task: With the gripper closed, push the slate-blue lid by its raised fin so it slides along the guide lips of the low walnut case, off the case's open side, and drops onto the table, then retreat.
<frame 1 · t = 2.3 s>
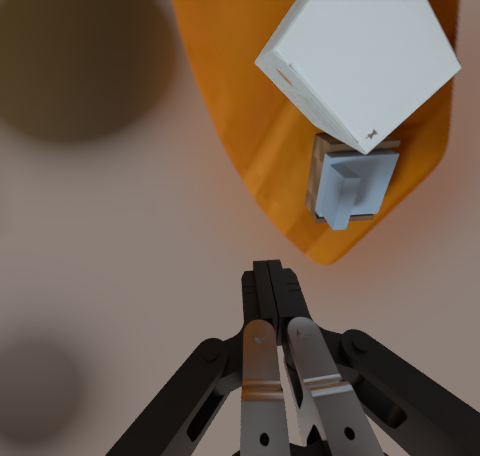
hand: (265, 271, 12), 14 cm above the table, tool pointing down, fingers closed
case: (336, 170, 24), on the table
small box: (307, 67, 19), on the table
lid: (349, 182, 22), point 3 cm above the table, touching case
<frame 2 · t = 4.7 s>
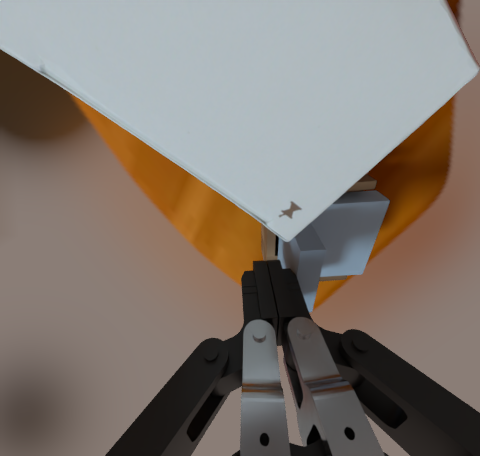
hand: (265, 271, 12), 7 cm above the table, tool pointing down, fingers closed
case: (297, 209, 18), on the table
small box: (235, 72, 13), on the table
lid: (321, 232, 15), point 3 cm above the table, touching gripper
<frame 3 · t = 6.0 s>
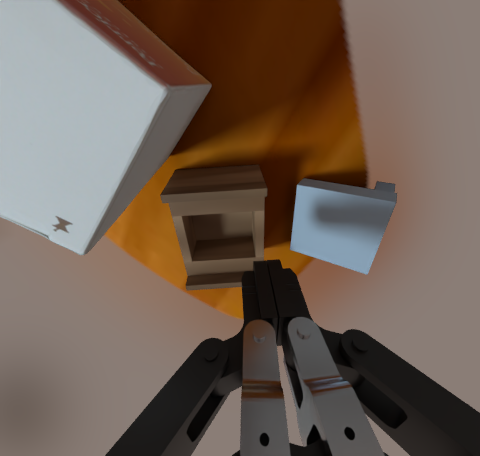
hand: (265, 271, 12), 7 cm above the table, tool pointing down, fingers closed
case: (222, 214, 18), on the table
small box: (130, 78, 13), on the table
lid: (332, 230, 16), point 3 cm above the table, tilted 146°
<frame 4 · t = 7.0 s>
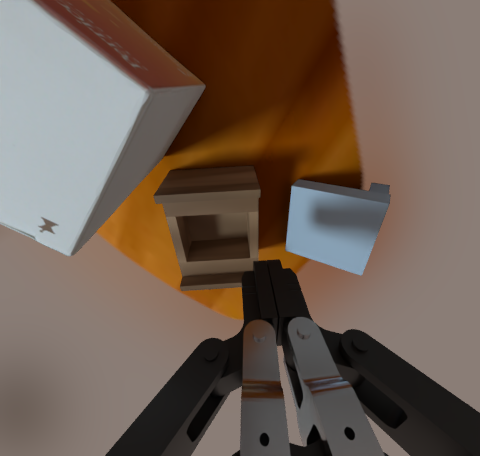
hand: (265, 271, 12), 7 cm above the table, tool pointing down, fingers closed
case: (217, 215, 18), on the table
small box: (124, 78, 13), on the table
lid: (327, 231, 16), point 3 cm above the table, tilted 146°
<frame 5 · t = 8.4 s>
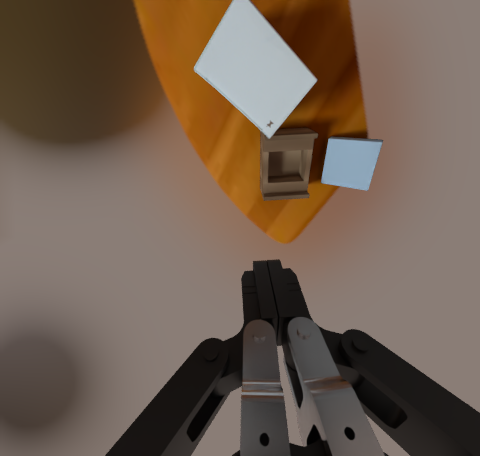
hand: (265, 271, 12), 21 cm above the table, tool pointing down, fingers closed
case: (281, 159, 30), on the table
small box: (247, 78, 25), on the table
lid: (348, 164, 28), point 3 cm above the table, tilted 146°
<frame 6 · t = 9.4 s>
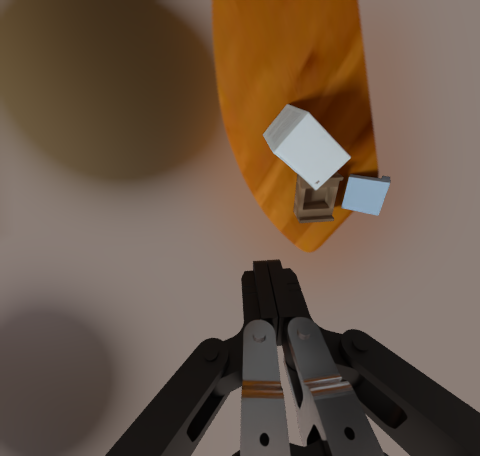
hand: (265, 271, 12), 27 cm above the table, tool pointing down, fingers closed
case: (312, 190, 39), on the table
small box: (291, 136, 34), on the table
lid: (363, 196, 37), point 3 cm above the table, tilted 146°
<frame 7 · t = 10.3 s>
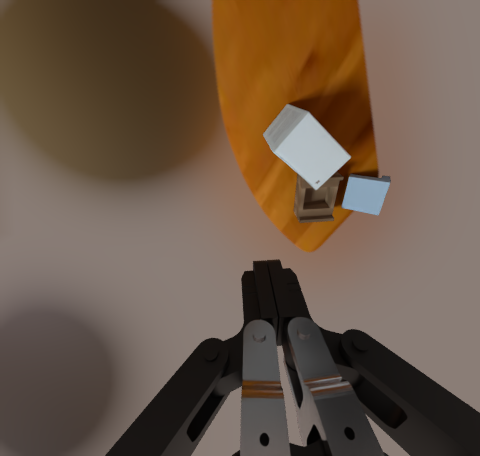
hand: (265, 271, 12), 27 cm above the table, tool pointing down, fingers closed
case: (312, 190, 39), on the table
small box: (291, 136, 34), on the table
lid: (363, 196, 37), point 3 cm above the table, tilted 146°
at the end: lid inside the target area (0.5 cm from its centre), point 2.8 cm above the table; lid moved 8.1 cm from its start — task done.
